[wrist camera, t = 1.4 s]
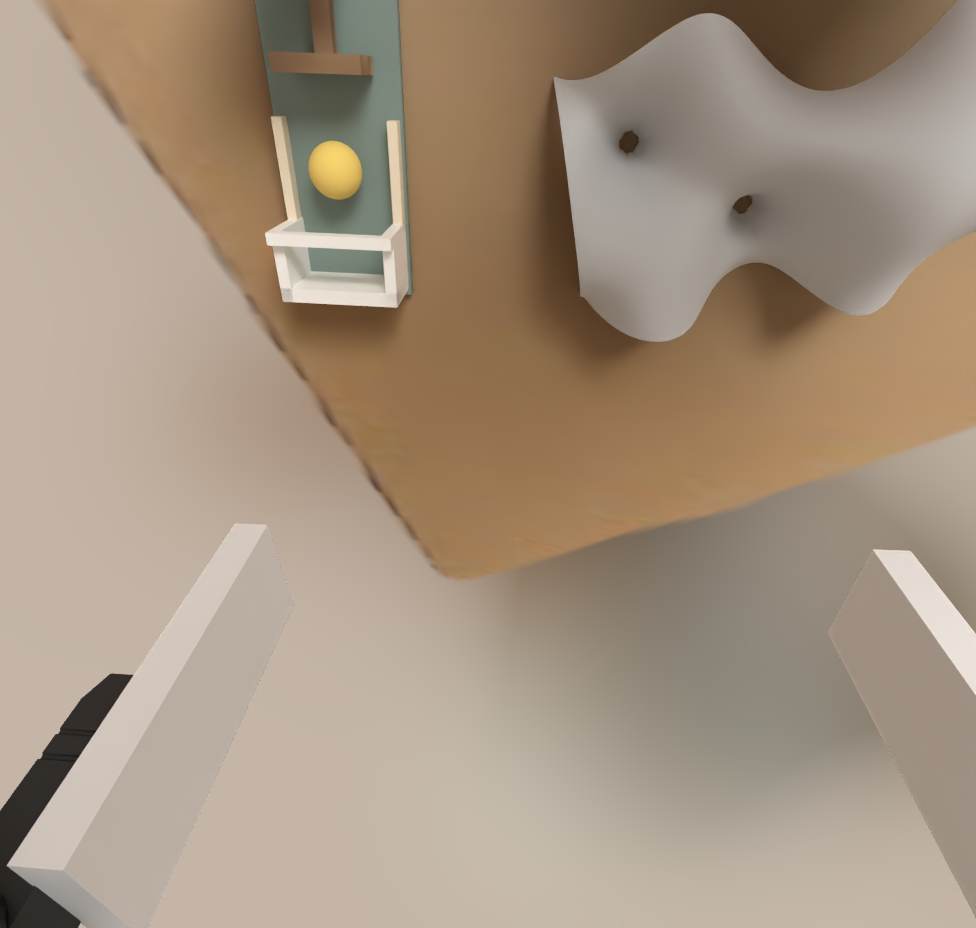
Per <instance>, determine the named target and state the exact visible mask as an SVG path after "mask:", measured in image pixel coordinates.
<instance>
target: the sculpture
mask: <svg viewBox="0 0 976 928" xmlns="http://www.w3.org/2000/svg"><path fill="white" fill-rule="evenodd" d="M553 79H554V85H555V91H556V97H557V104H558V111H559V118H560V125H561V132H562V139H563V147H564V155H565V162H566V170H567V178H568V187H569V195H570V203H571V211H572V219H573V228H574V236H575V244H576V253H577V262H578V271H579V282H580V291H579V290H578V292H579V296H580V297H584V298H585V299H586V300H587V302H588V303H589V304H590V305H591V306H592V308H593V309H594V310H595V311H596V312H597V313H598V314H599V315H600V316H601V317H602V318H603V319H604V320H606V321H607V322H608V323H609V324H611V325H612V326H613V327H615V328H616V329H618V330H619V331H621V332H623V333H625V334H626V335H629V336H631V337H634V338H636V339H640V340H644V341H650V342H663V341H669V340H672V339H675V338H677V337H679V336H681V335H683V334H684V333H685V332H686V331H687V330H688V329H689V328H690V327H691V326H692V325H693V323H694V322H695V320H696V319H697V317H698V315H699V313H700V311H701V310H702V308H703V306H704V304H705V302H706V300H707V298H708V296H709V295H710V293H711V291H712V290H713V288H714V287H715V286H716V284H717V283H718V282H719V281H720V280H721V279H722V278H723V277H724V276H725V275H726V274H728V273H729V272H730V271H732V270H734V269H735V268H737V267H739V266H742V265H745V264H749V263H765V264H768V265H771V266H773V267H776V268H778V269H779V270H781V271H783V272H784V273H786V274H787V275H789V276H790V277H791V278H793V279H794V280H795V281H797V282H798V283H800V284H801V285H802V286H803V287H805V288H806V289H807V290H809V291H810V292H811V293H813V294H814V295H815V296H817V297H818V298H820V299H821V300H822V301H824V302H825V303H827V304H828V305H830V306H832V307H833V308H835V309H837V310H839V311H841V312H844V313H847V314H851V315H858V316H861V315H868V314H871V313H873V312H875V311H877V310H879V309H880V308H881V307H883V306H884V305H885V304H886V303H887V302H888V301H889V300H890V298H891V297H892V296H893V295H894V293H895V292H896V290H897V289H898V288H899V286H900V285H901V284H902V283H903V281H904V280H905V279H906V278H907V277H908V276H909V275H910V274H911V272H912V271H913V270H914V269H916V268H917V267H918V266H919V265H920V264H921V263H922V262H923V261H925V260H926V259H927V258H928V257H930V256H931V255H933V254H934V253H935V252H937V251H938V250H940V249H942V248H943V247H945V246H946V245H948V244H950V243H952V242H954V241H955V240H957V239H959V238H961V237H963V236H966V235H968V234H970V233H973V232H975V231H976V0H957V1H956V2H955V4H954V5H953V6H952V7H951V8H950V9H949V10H948V11H947V12H946V13H945V15H944V16H943V17H942V18H941V19H940V20H939V21H938V22H937V23H936V24H935V25H934V26H933V27H932V28H931V29H930V30H929V31H928V32H927V33H926V34H925V35H924V36H923V37H922V38H921V39H920V40H919V41H918V42H917V43H916V44H915V45H914V46H912V47H911V48H910V49H909V50H908V51H907V52H906V53H904V54H903V55H902V56H901V57H900V58H898V59H897V60H896V61H895V62H893V63H892V64H891V65H889V66H888V67H886V68H885V69H884V70H882V71H881V72H879V73H877V74H876V75H874V76H872V77H871V78H869V79H867V80H865V81H863V82H861V83H858V84H856V85H853V86H850V87H847V88H844V89H839V90H832V91H819V90H813V89H809V88H806V87H803V86H801V85H799V84H796V83H795V82H793V81H791V80H790V79H788V78H787V77H786V76H784V75H783V74H782V73H781V72H779V71H778V70H777V69H776V68H775V67H774V66H773V65H772V64H771V63H770V62H769V61H768V60H767V59H766V58H765V57H764V55H763V54H762V53H761V52H760V51H759V50H758V48H757V47H756V46H755V45H754V44H753V43H752V41H751V40H750V39H749V38H748V37H747V36H746V34H745V33H744V32H743V31H742V30H741V29H740V28H739V27H738V26H737V25H736V24H734V23H733V22H732V21H731V20H729V19H727V18H726V17H724V16H721V15H718V14H714V13H704V14H699V15H695V16H692V17H690V18H687V19H685V20H684V21H682V22H680V23H678V24H676V25H675V26H673V27H671V28H670V29H668V30H667V31H665V32H664V33H662V34H661V35H659V36H658V37H656V38H655V39H653V40H652V41H650V42H649V43H648V44H646V45H645V46H643V47H642V48H640V49H639V50H638V51H636V52H635V53H633V54H632V55H630V56H629V57H627V58H626V59H624V60H623V61H621V62H620V63H618V64H616V65H615V66H613V67H611V68H609V69H608V70H606V71H604V72H602V73H600V74H597V75H595V76H592V77H589V78H586V79H580V80H565V79H561V78H558V77H556V76H555V77H554V78H553ZM628 131H633V133H634V135H637V136H638V139H639V143H638V145H637V146H636V147H635V148H634V151H633V152H631V153H625V152H624V150H622V149H620V148H619V140H620V139H621V138H622V137H623V134H624V133H625V132H628ZM746 195H748V196H751V197H752V205H751V206H750V207H748V210H747V211H746V212H745V213H740V214H738V213H737V210H734V208H733V205H734V204H735V202H736V201H737V200H738V199H739V198H741V197H743V196H746Z"/></svg>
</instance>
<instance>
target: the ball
mask: <svg viewBox="0 0 976 928" xmlns="http://www.w3.org/2000/svg"><path fill="white" fill-rule="evenodd" d="M309 175H310V178H311V180H312V182H313V184H314V186H315V187H316V188H317V189H318V191H320V192H321V193H322V194H323V195H325V196H327V197H329V198H331V199H337V200H341V199H346V198H349V197H350V196H352V195H353V194H354V193H355V192H356V191H357V190H358V189H359V187H360V184H361V181H362V166H361V163H360V160H359V158H358V156H357V155H356V153H355V152H354V151H353V150H352V149H351V148H350V147H349V146H347V145H346V144H344V143H341V142H338V141H326V142H323V143H321V144H320V145H318V146H317V147H316V148H315V149H314V150H313V152H312V154H311V156H310V159H309Z"/></svg>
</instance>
